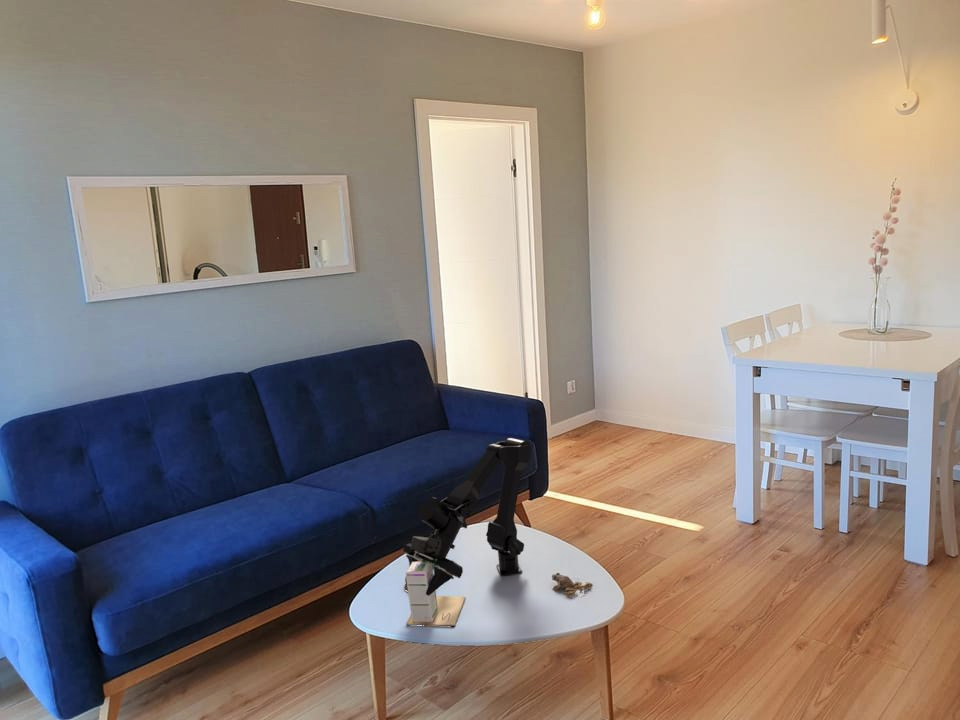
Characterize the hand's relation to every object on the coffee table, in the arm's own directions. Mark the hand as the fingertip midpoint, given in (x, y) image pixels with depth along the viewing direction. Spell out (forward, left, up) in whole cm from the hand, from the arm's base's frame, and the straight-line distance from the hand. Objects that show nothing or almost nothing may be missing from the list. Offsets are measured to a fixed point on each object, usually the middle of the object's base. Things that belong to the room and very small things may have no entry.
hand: (417, 590), depth 194 cm
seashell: (-19, +2, -9) cm, 21 cm away
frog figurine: (-2, +42, -10) cm, 43 cm away
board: (-3, +5, -9) cm, 10 cm away
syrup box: (-1, +1, -8) cm, 9 cm away
